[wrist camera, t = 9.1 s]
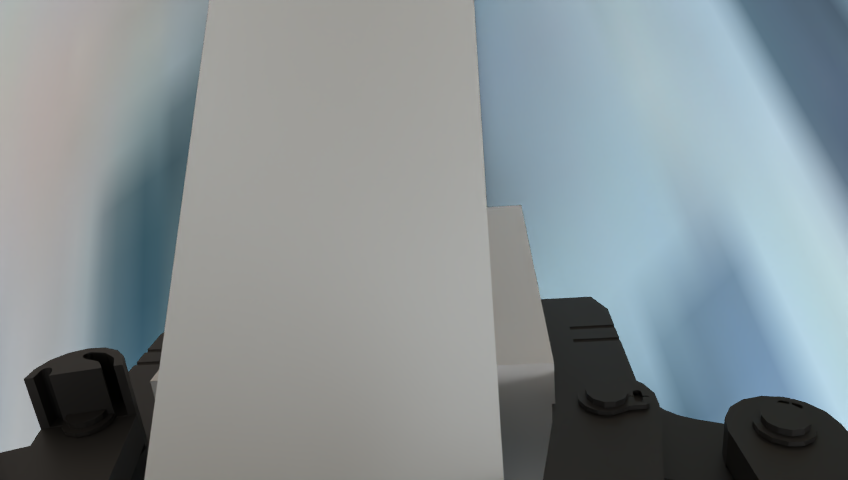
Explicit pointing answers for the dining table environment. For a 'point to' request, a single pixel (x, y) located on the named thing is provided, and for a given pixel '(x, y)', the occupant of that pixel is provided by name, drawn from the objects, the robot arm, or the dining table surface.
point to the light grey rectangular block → (332, 252)
